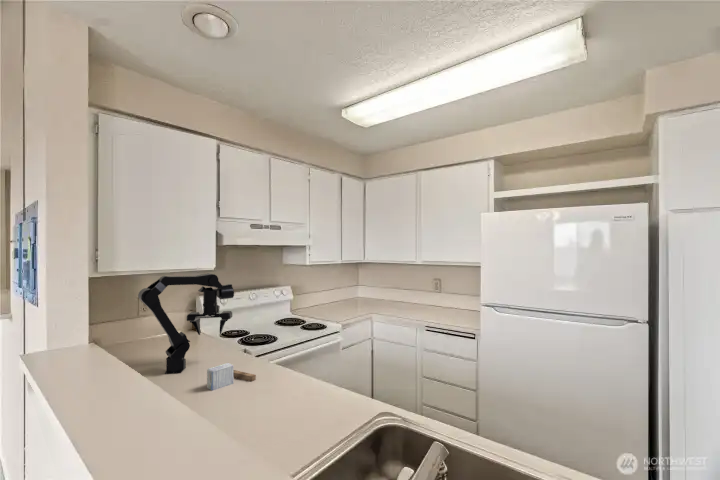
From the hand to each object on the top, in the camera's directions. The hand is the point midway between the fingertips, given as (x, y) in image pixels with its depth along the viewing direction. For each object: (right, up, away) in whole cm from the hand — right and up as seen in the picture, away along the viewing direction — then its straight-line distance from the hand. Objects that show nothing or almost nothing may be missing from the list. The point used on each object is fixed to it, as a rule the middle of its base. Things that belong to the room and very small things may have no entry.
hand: (210, 334), depth 154 cm
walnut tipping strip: (+22, -13, -19) cm, 32 cm away
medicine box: (+19, -9, -23) cm, 31 cm away
